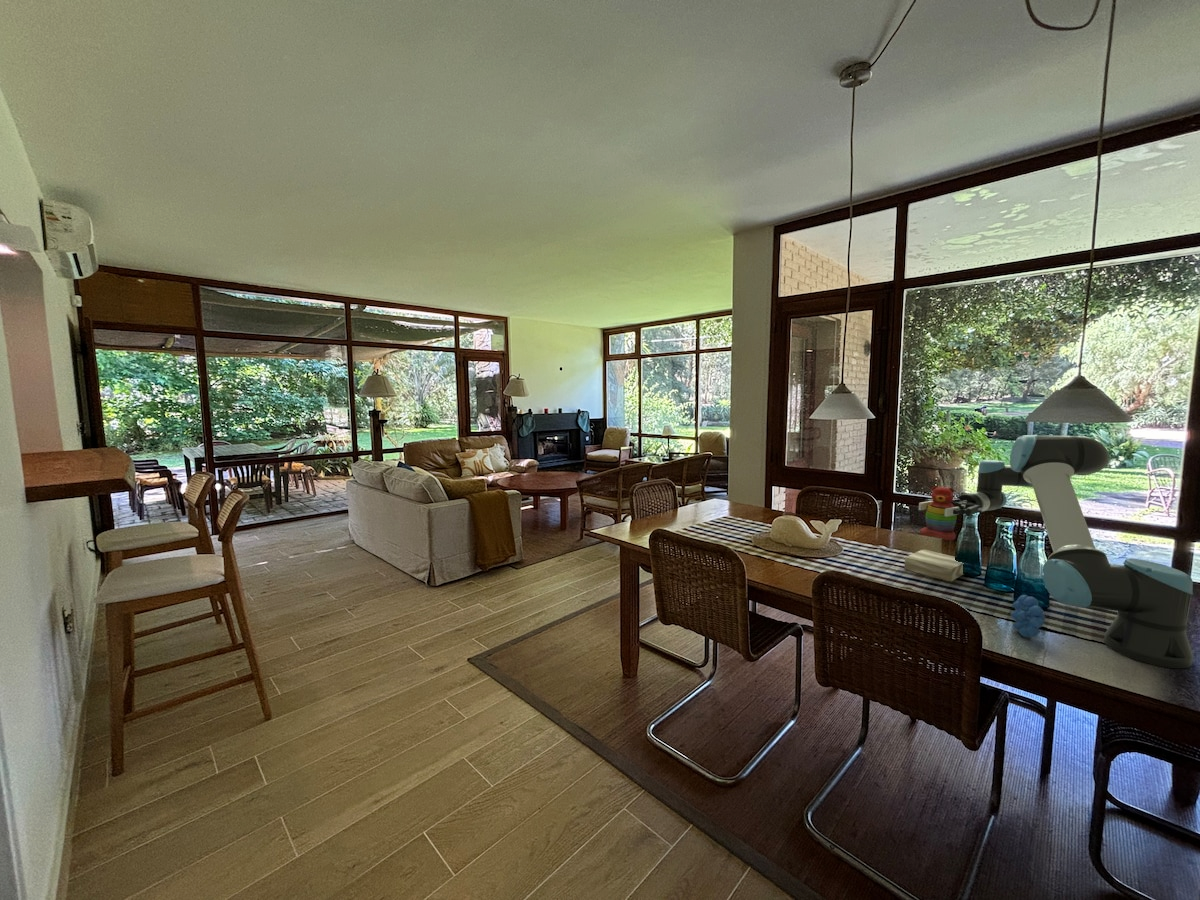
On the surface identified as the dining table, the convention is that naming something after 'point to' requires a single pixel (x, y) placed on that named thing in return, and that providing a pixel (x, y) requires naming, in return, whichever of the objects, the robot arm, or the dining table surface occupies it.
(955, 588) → the dining table surface
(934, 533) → the stacking bear
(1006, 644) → the dining table surface
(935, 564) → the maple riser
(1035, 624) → the grapes
